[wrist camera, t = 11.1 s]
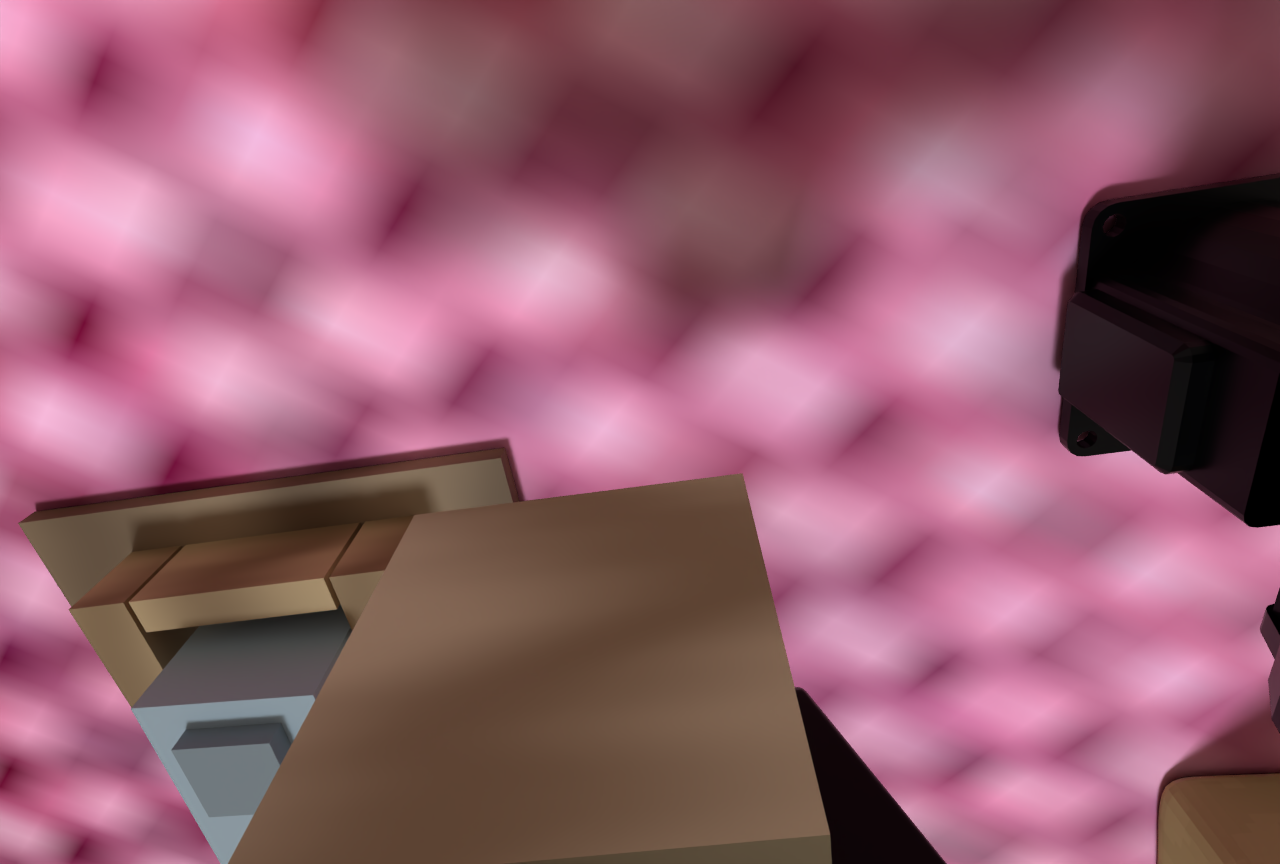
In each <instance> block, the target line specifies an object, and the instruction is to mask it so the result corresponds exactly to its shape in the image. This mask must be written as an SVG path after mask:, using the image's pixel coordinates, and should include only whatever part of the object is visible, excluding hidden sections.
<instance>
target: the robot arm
mask: <svg viewBox="0 0 1280 864" xmlns="http://www.w3.org/2000/svg"><path fill="white" fill-rule="evenodd" d="M1114 214H1115V215H1116V223H1115V225H1114V227H1113V228H1112V229H1111V230H1110V231H1108V232H1106V233H1104V231H1103V225H1104V223H1105V221H1106V220H1107V219H1108V218H1109V217H1110V216H1112V215H1114ZM1058 391H1059V394H1060V395H1061V396H1062V397H1063V406H1062V415H1061V424H1060V433H1059V437H1060V442H1061V443H1062V445H1063V446H1064V447H1065V448H1066V449H1067V450H1068V451H1070V452H1071V453H1072V454H1074V455H1076V456H1091V455H1099V454H1107V453H1115V452H1123V451H1130V450H1132V451H1133V452H1135V453H1136V454H1137V455H1138V456H1140V457H1141V458H1142V459H1144V460H1145V461H1146V462H1148V463H1149V464H1150V465H1151V466H1153V467H1154V468H1155V469H1157V470H1158V471H1159V472H1161V473H1163V474H1172V473H1178V474H1179V475H1181V476H1182V477H1183V478H1185V479H1186V480H1187V481H1189V482H1190V483H1191V484H1193V485H1194V486H1196V487H1197V488H1198V489H1200V490H1201V491H1202V492H1204V493H1205V494H1206V495H1208V496H1209V497H1210V498H1212V499H1213V500H1214V501H1216V502H1217V503H1218V504H1220V505H1221V506H1222V507H1224V508H1225V509H1226V510H1228V511H1229V512H1230V513H1232V514H1233V515H1235V516H1236V517H1237V518H1239V519H1240V520H1241V521H1243V522H1244V523H1245V524H1247V525H1248V526H1249V527H1265V526H1274V525H1280V173H1279V174H1273V175H1266V176H1260V177H1253V178H1247V179H1240V180H1234V181H1227V182H1221V183H1214V184H1208V185H1201V186H1195V187H1188V188H1182V189H1176V190H1169V191H1163V192H1156V193H1150V194H1143V195H1137V196H1130V197H1124V198H1117V199H1111V200H1106V201H1103V202H1100V203H1098V204H1097V205H1095V206H1094V207H1093V208H1091V209H1090V211H1089V212H1088V213H1087V215H1086V216H1085V218H1084V222H1083V225H1082V233H1081V242H1080V251H1079V260H1078V269H1077V278H1076V287H1075V294H1074V295H1073V296H1072V298H1071V299H1070V300H1069V302H1068V305H1067V314H1066V323H1065V333H1064V342H1063V352H1062V361H1061V370H1060V380H1059V389H1058ZM1086 431H1089V432H1088V435H1087V436H1086V437H1085V438H1084V439H1083V440H1080V441H1077V439H1078V436H1079V435H1081V434H1082V433H1083V432H1086ZM1260 632H1261V634H1262V636H1263V637H1264V639H1265V641H1266V643H1267V645H1268V647H1269V649H1270V651H1271V653H1272V655H1273V657H1274V659H1275V661H1274V664H1273V667H1272V670H1271V673H1270V676H1269V679H1268V683H1269V695H1270V706H1271V718H1272V721H1273V722H1274V724H1275V726H1276V727H1277V729H1278V731H1279V733H1280V588H1279V592H1278V595H1277V598H1276V601H1275V604H1272V605H1269V606H1268V607H1267V608H1266V610H1265V613H1264V617H1263V620H1262V623H1261V626H1260ZM795 692H796V696H797V700H798V704H799V708H800V712H801V716H802V720H803V724H804V729H805V733H806V737H807V741H808V745H809V749H810V753H811V757H812V761H813V766H814V770H815V774H816V778H817V782H818V786H819V790H820V794H821V798H822V803H823V807H824V811H825V815H826V819H827V823H828V827H829V831H830V838H831V857H832V864H947V863H946V862H945V861H944V860H943V859H942V857H941V856H940V855H939V854H938V852H937V851H936V850H935V849H934V848H933V846H932V845H931V844H930V843H929V841H928V840H927V839H926V838H925V836H924V835H923V834H922V833H921V832H920V830H919V829H918V828H917V827H916V825H915V824H914V823H913V822H912V821H911V819H910V818H909V817H908V816H907V814H906V813H905V812H904V811H903V809H902V808H901V807H900V806H899V805H898V803H897V802H896V801H895V800H894V798H893V797H892V796H891V795H890V794H889V792H888V791H887V790H886V789H885V787H884V786H883V785H882V784H881V783H880V781H879V780H878V779H877V778H876V776H875V775H874V774H873V773H872V771H871V770H870V769H869V768H868V767H867V765H866V764H865V763H864V762H863V760H862V759H861V758H860V757H859V756H858V754H857V753H856V752H855V751H854V749H853V748H852V747H851V746H850V744H849V743H848V742H847V741H846V740H845V738H844V737H843V736H842V735H841V733H840V732H839V731H838V730H837V729H836V727H835V726H834V725H833V724H832V722H831V721H830V720H829V719H828V717H827V716H826V715H825V714H824V713H823V711H822V710H821V709H820V708H819V706H818V705H817V704H816V703H815V702H814V700H813V699H812V698H811V697H810V695H809V694H808V693H807V692H806V691H805V690H804V689H802V688H800V687H795Z"/></svg>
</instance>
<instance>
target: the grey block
mask: <svg viewBox="0 0 1280 864" xmlns="http://www.w3.org/2000/svg"><path fill="white" fill-rule="evenodd" d="M351 633H352V630H351V627H350V625H349V623H348V620H347V618H346V616H345V613H344V611H343V609H342V606H341V604H340V605H339V607H338V609H336V610H328V611H320V612H311V613H303V614H295V615H286V616H278V617H270V618H262V619H253V620H245V621H237V622H228V623H220V624H212V625H203V626H199V627H198V628H197V629H196V630H195V632H194V633H193V634H192V635H191V636H190V638H189V639H188V640H187V641H186V643H185V644H184V645H183V646H182V647H181V649H180V650H179V651H178V652H177V653H176V655H175V656H174V657H173V658H172V659H171V661H170V662H169V663H168V664H167V665H166V667H165V668H164V669H163V670H162V672H161V673H160V674H159V675H158V676H157V678H156V679H155V680H154V681H153V682H152V684H151V685H150V686H149V687H148V688H147V690H146V691H145V692H144V693H143V694H142V696H141V697H140V698H139V699H138V701H137V702H136V703H135V704H134V705H133V707H132V708H131V710H132V712H133V713H134V715H135V717H136V718H137V720H138V722H139V724H140V725H141V727H142V729H143V730H144V732H145V734H146V736H147V737H148V739H149V741H150V743H151V744H152V746H153V748H154V749H155V751H156V753H157V755H158V756H159V758H160V760H161V761H162V763H163V765H164V767H165V768H166V770H167V772H168V774H169V775H170V777H171V779H172V780H173V782H174V784H175V786H176V787H177V789H178V791H179V793H180V794H181V796H182V798H183V799H184V801H185V803H186V805H187V806H188V808H189V810H190V811H191V813H192V815H193V817H194V818H195V820H196V822H197V824H198V825H199V827H200V829H201V830H202V832H203V834H204V836H205V837H206V839H207V841H208V843H209V844H210V846H211V848H212V849H213V851H214V853H215V855H216V856H217V858H218V860H219V861H220V863H221V864H228V862H229V860H230V858H231V857H232V855H233V853H234V851H235V849H236V847H237V845H238V843H239V842H240V840H241V838H242V836H243V834H244V832H245V830H246V829H247V827H248V825H249V823H250V821H251V819H252V817H253V815H254V814H255V812H256V810H257V808H258V806H259V804H260V802H261V801H262V799H263V797H264V795H265V793H266V791H267V789H268V787H269V786H270V784H271V782H272V780H273V778H274V776H275V774H276V773H277V771H278V769H279V767H280V765H281V763H282V761H283V759H284V758H285V756H286V754H287V752H288V750H289V748H290V746H291V745H292V743H293V741H294V739H295V737H296V735H297V733H298V731H299V730H300V728H301V726H302V724H303V722H304V720H305V718H306V717H307V715H308V713H309V711H310V709H311V707H312V705H313V703H314V702H315V700H316V698H317V696H318V694H319V692H320V690H321V689H322V687H323V685H324V683H325V681H326V679H327V677H328V675H329V674H330V672H331V670H332V668H333V666H334V664H335V662H336V661H337V659H338V657H339V655H340V653H341V651H342V649H343V647H344V646H345V644H346V642H347V640H348V638H349V636H350V634H351Z"/></svg>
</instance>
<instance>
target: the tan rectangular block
mask: <svg viewBox="0 0 1280 864" xmlns="http://www.w3.org/2000/svg"><path fill="white" fill-rule="evenodd" d="M228 864H832V857H831V838H830V831H829V827H828V823H827V819H826V815H825V811H824V807H823V803H822V798H821V794H820V790H819V786H818V782H817V778H816V774H815V770H814V766H813V761H812V757H811V753H810V749H809V745H808V741H807V737H806V733H805V729H804V724H803V720H802V716H801V712H800V708H799V704H798V700H797V696H796V692H795V687H794V683H793V679H792V675H791V671H790V667H789V663H788V659H787V655H786V650H785V646H784V642H783V638H782V634H781V630H780V626H779V622H778V618H777V613H776V609H775V605H774V601H773V597H772V593H771V589H770V585H769V581H768V576H767V572H766V568H765V564H764V560H763V556H762V552H761V548H760V544H759V540H758V535H757V531H756V527H755V523H754V519H753V515H752V511H751V507H750V503H749V498H748V494H747V490H746V486H745V482H744V478H743V474H734V475H726V476H718V477H711V478H703V479H695V480H687V481H679V482H671V483H663V484H655V485H647V486H640V487H632V488H624V489H616V490H608V491H600V492H592V493H584V494H577V495H569V496H561V497H553V498H545V499H537V500H529V501H521V502H514V503H506V504H498V505H490V506H482V507H474V508H466V509H458V510H450V511H443V512H435V513H427V514H419V515H414V517H413V519H412V521H411V522H410V524H409V526H408V528H407V530H406V532H405V534H404V535H403V537H402V539H401V541H400V543H399V545H398V547H397V549H396V550H395V552H394V554H393V556H392V558H391V560H390V562H389V563H388V565H387V567H386V569H385V571H384V573H383V575H382V577H381V578H380V580H379V582H378V584H377V586H376V588H375V590H374V591H373V593H372V595H371V597H370V599H369V601H368V603H367V605H366V606H365V608H364V610H363V612H362V614H361V616H360V618H359V619H358V621H357V623H356V625H355V627H354V629H353V631H352V633H351V634H350V636H349V638H348V640H347V642H346V644H345V646H344V647H343V649H342V651H341V653H340V655H339V657H338V659H337V661H336V662H335V664H334V666H333V668H332V670H331V672H330V674H329V675H328V677H327V679H326V681H325V683H324V685H323V687H322V689H321V690H320V692H319V694H318V696H317V698H316V700H315V702H314V703H313V705H312V707H311V709H310V711H309V713H308V715H307V717H306V718H305V720H304V722H303V724H302V726H301V728H300V730H299V731H298V733H297V735H296V737H295V739H294V741H293V743H292V745H291V746H290V748H289V750H288V752H287V754H286V756H285V758H284V759H283V761H282V763H281V765H280V767H279V769H278V771H277V773H276V774H275V776H274V778H273V780H272V782H271V784H270V786H269V787H268V789H267V791H266V793H265V795H264V797H263V799H262V801H261V802H260V804H259V806H258V808H257V810H256V812H255V814H254V815H253V817H252V819H251V821H250V823H249V825H248V827H247V829H246V830H245V832H244V834H243V836H242V838H241V840H240V842H239V843H238V845H237V847H236V849H235V851H234V853H233V855H232V857H231V858H230V860H229V862H228Z"/></svg>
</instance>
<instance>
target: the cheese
mask: <svg viewBox="0 0 1280 864" xmlns="http://www.w3.org/2000/svg"><path fill="white" fill-rule="evenodd" d="M1158 864H1280V773H1276V774H1251V775H1223V776H1196V777H1186V778H1180V779H1178V780H1175V781H1172V782H1171V783H1170V784H1168V785H1167V786H1166V787H1165V789H1164V791H1163V793H1162V796H1161V801H1160V805H1159V817H1158Z"/></svg>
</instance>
